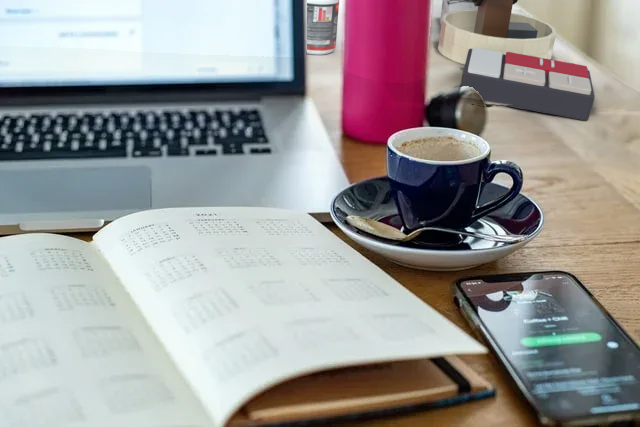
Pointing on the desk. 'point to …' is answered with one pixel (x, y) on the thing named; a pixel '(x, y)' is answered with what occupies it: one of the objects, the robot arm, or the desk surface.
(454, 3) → the ink box
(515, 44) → the bowl
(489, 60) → the grey switch panel
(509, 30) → the slate block
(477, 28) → the brown tall block
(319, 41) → the pill bottle
